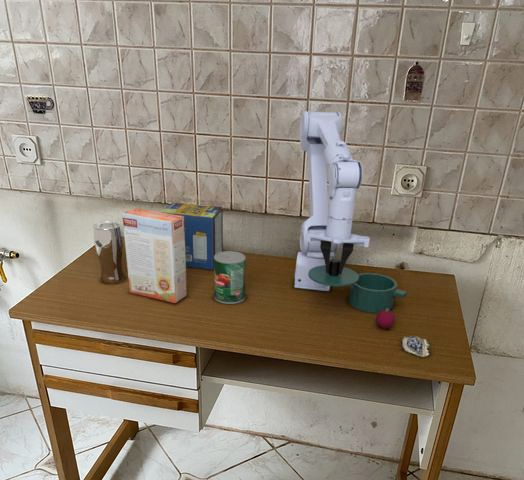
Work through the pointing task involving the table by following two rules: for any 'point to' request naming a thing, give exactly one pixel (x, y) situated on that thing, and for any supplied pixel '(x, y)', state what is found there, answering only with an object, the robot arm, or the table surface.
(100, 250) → the beer glass
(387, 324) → the beet
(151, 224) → the cracker box
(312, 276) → the lid
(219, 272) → the canned tomato
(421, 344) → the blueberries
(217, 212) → the protein box
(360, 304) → the pot
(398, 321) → the table surface
